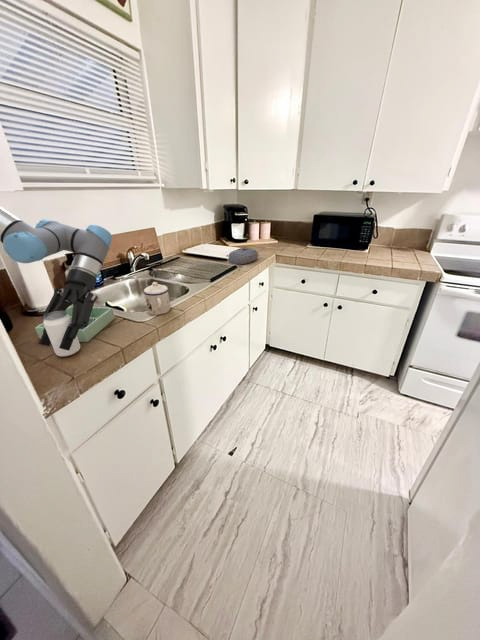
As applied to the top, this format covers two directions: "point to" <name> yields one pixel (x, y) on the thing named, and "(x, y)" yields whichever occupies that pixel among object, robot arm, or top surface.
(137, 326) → the top surface
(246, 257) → the grey rounded bag
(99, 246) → the robot arm
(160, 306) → the teacup with lid
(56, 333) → the can
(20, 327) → the top surface
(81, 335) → the tray with compartments
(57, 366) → the top surface
